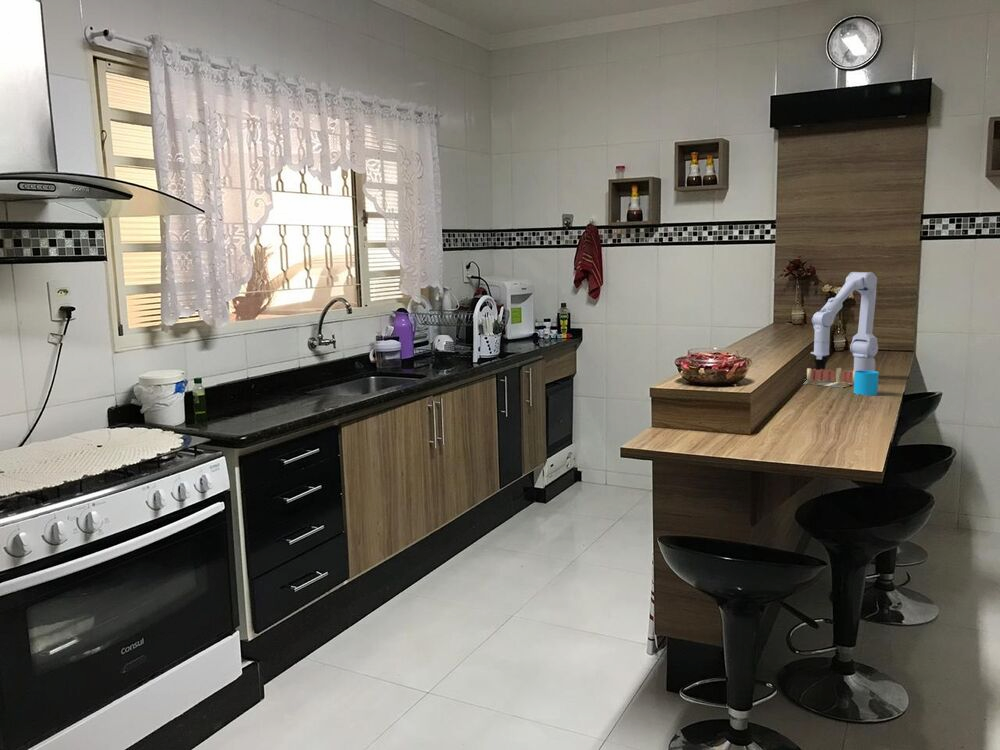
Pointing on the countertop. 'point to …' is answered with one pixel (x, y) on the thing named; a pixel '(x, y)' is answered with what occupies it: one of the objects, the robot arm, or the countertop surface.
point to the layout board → (829, 383)
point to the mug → (866, 382)
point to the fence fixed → (845, 375)
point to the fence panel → (820, 374)
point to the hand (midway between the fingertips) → (820, 374)
